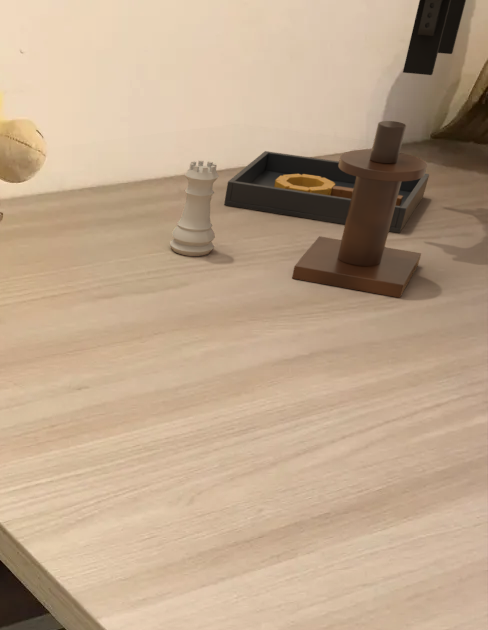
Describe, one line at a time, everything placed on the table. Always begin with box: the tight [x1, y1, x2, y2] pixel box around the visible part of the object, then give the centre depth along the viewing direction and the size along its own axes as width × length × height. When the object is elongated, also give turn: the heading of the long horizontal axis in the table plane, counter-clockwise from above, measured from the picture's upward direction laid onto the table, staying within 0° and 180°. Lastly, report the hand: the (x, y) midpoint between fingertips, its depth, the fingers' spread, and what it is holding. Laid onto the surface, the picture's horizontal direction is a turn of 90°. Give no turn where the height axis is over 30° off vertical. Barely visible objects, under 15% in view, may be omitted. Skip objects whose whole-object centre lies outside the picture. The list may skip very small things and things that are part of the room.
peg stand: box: [291, 120, 428, 299], centre depth 95 cm, size 10×10×13 cm
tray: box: [223, 150, 430, 234], centre depth 117 cm, size 19×15×2 cm
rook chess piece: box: [169, 160, 220, 257], centre depth 101 cm, size 4×4×8 cm
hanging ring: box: [274, 174, 403, 206], centre depth 116 cm, size 14×6×1 cm, turn 63°
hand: (428, 62), depth 106 cm, fingers open, 13 cm apart
